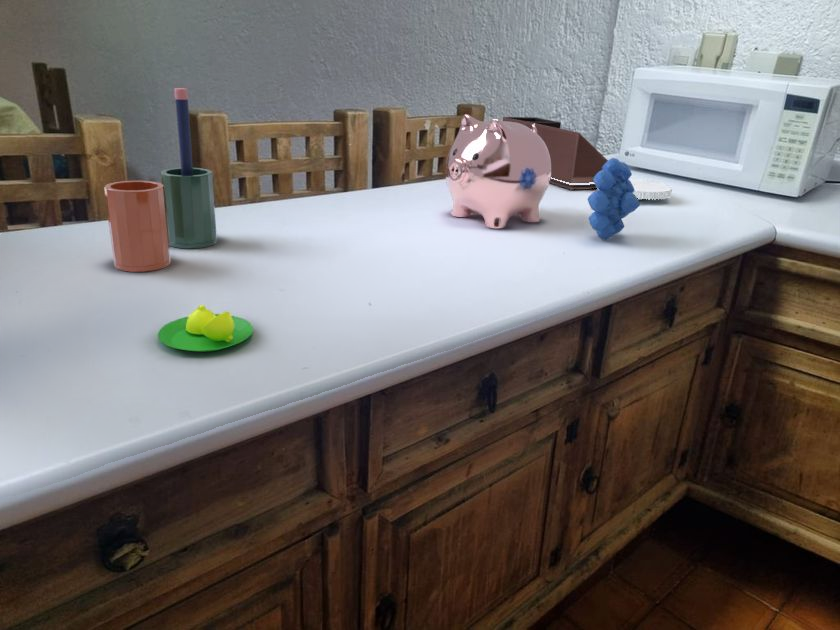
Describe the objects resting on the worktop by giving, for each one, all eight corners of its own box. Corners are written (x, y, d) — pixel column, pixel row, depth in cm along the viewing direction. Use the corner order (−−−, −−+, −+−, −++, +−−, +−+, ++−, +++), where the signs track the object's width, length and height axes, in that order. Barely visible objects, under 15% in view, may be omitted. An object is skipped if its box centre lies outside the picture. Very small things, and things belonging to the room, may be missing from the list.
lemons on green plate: (271, 331, 60) (270, 302, 59) (213, 365, 53) (210, 333, 52) (201, 314, 63) (199, 286, 62) (137, 344, 56) (133, 313, 55)
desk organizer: (531, 164, 161) (537, 116, 156) (611, 188, 136) (620, 132, 132) (494, 165, 156) (499, 116, 152) (569, 190, 132) (578, 132, 128)
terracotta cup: (103, 268, 73) (92, 188, 70) (133, 254, 79) (124, 178, 76) (153, 274, 73) (145, 193, 69) (180, 259, 78) (173, 183, 75)
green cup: (158, 246, 82) (151, 173, 79) (182, 234, 88) (176, 166, 85) (203, 250, 82) (198, 178, 78) (224, 238, 87) (220, 169, 84)
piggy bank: (418, 214, 106) (423, 111, 100) (495, 203, 117) (505, 110, 111) (485, 237, 95) (496, 122, 89) (564, 222, 106) (578, 120, 100)
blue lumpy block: (615, 253, 91) (630, 165, 86) (571, 242, 95) (583, 158, 90) (647, 238, 99) (663, 158, 95) (606, 229, 103) (618, 151, 99)
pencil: (184, 238, 84) (172, 88, 77) (189, 235, 85) (178, 87, 78) (194, 239, 84) (183, 89, 77) (200, 236, 85) (189, 88, 78)
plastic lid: (649, 208, 120) (652, 194, 119) (582, 194, 129) (584, 181, 128) (681, 199, 130) (684, 186, 129) (616, 187, 138) (618, 175, 137)
